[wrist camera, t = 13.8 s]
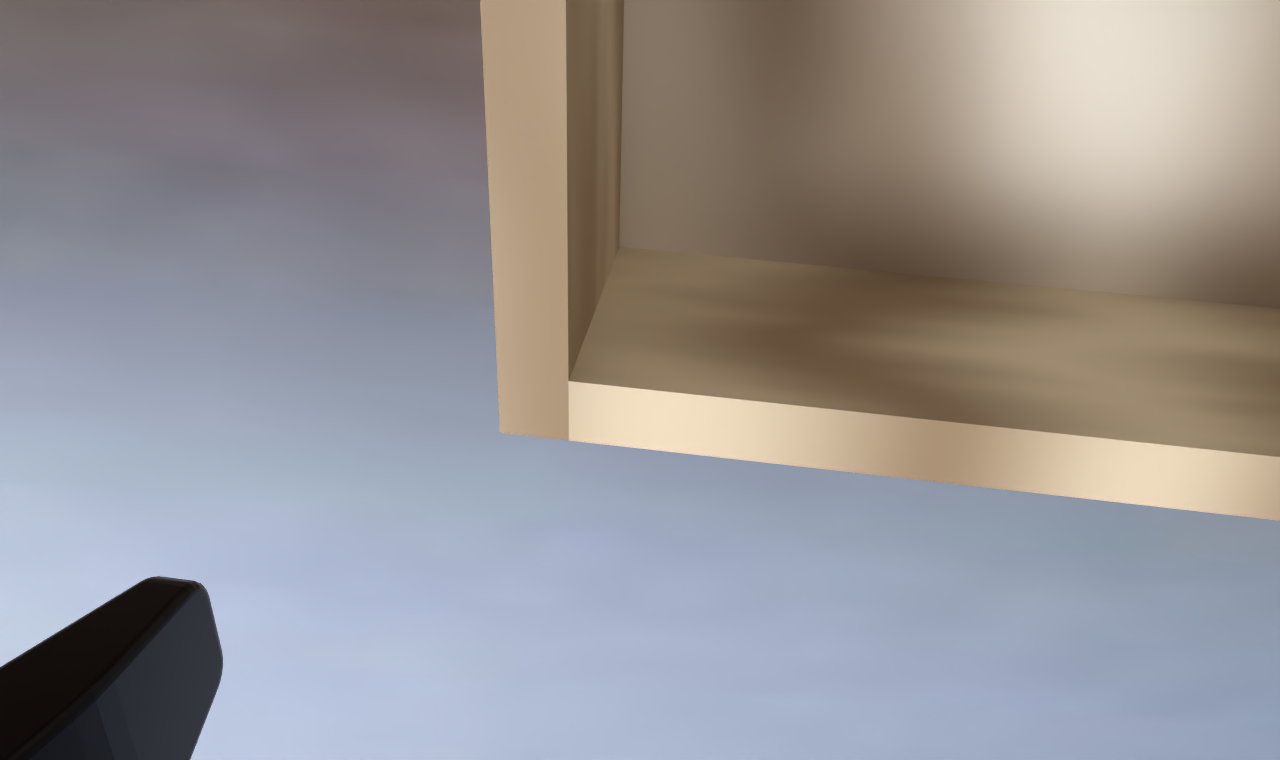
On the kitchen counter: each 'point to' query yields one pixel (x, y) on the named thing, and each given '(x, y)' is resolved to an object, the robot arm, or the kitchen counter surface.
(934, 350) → the walled box
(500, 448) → the kitchen counter surface
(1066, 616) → the kitchen counter surface
